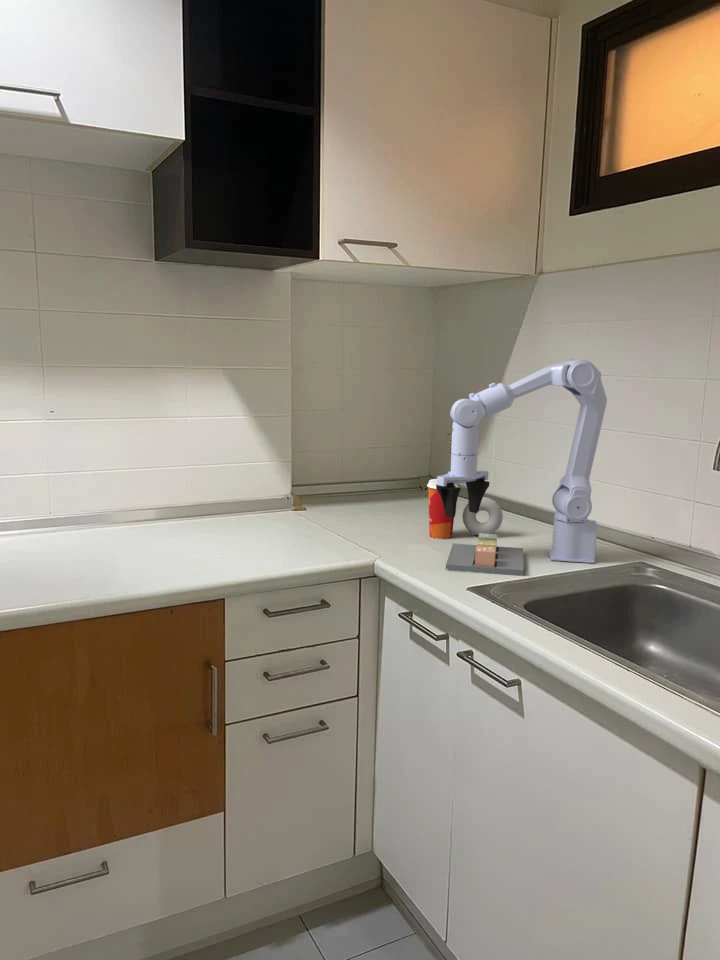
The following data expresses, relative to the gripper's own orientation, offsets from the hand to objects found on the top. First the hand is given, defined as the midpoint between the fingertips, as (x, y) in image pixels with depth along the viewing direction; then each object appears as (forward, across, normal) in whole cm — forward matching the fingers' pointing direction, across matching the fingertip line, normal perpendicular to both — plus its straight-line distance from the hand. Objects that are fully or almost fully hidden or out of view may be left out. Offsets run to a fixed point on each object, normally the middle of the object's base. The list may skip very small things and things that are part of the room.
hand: (462, 514), depth 166 cm
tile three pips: (+9, +3, +10) cm, 13 cm away
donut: (+10, -19, -10) cm, 23 cm away
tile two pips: (+9, -2, +6) cm, 11 cm away
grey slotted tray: (+10, -2, +6) cm, 11 cm away
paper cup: (+10, -10, -16) cm, 21 cm away
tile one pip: (+9, -7, +2) cm, 11 cm away
